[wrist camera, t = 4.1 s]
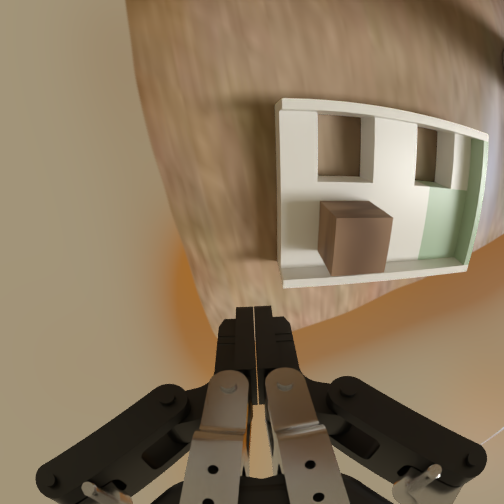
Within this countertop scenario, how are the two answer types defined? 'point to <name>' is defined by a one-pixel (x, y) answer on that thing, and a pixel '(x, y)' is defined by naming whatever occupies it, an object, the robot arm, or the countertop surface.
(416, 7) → the countertop surface
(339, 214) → the walnut block
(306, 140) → the track
